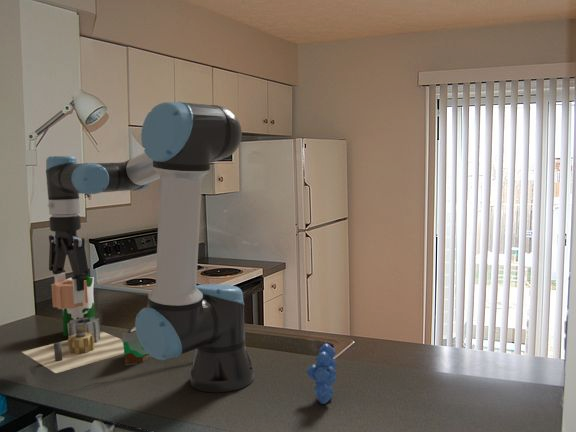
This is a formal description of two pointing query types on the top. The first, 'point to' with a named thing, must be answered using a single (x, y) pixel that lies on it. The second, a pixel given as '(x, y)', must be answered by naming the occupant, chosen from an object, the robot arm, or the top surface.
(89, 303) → the milk carton
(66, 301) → the planet gear
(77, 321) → the seated gear
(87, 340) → the carrier
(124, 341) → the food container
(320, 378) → the grapes
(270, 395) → the top surface
